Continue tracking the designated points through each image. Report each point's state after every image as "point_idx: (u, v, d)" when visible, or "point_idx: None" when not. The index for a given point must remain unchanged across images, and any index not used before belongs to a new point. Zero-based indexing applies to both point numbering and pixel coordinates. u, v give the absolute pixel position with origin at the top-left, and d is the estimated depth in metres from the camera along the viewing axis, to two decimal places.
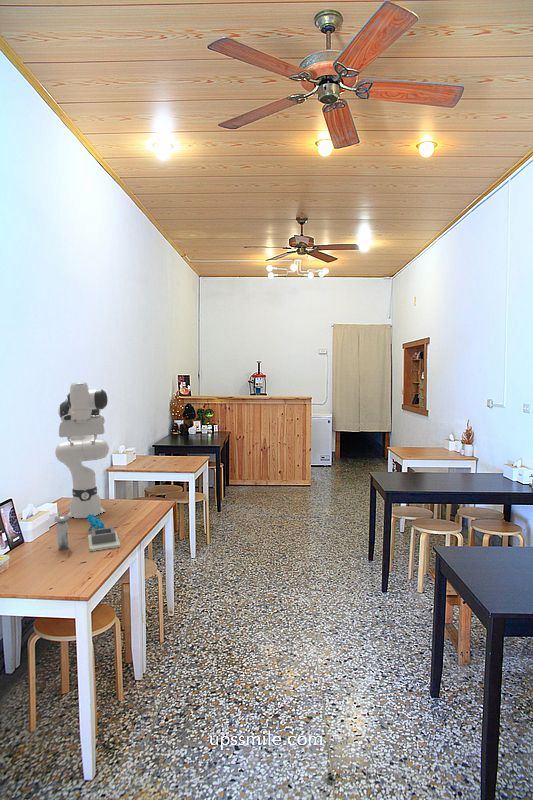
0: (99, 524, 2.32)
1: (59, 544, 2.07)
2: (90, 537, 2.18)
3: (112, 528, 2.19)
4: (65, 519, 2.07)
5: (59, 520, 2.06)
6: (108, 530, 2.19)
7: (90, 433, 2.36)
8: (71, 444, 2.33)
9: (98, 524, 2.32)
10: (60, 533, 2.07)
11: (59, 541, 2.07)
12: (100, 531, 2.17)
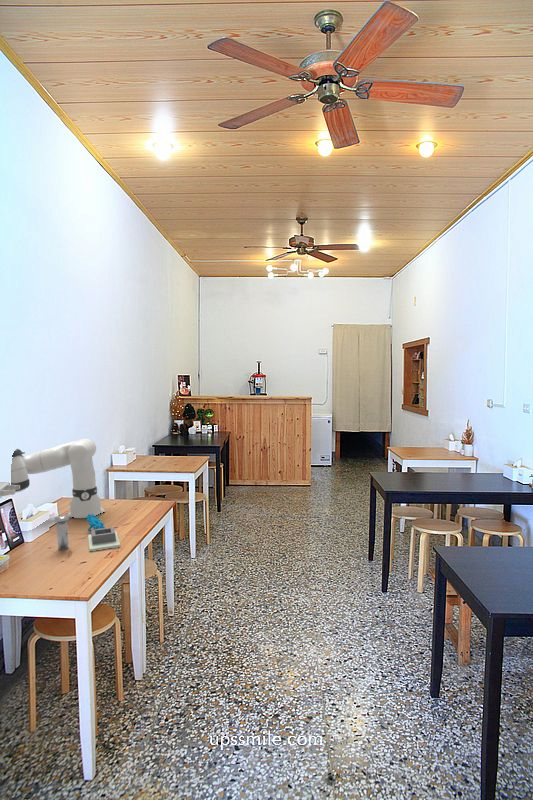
0: (99, 524, 2.32)
1: (59, 544, 2.07)
2: (90, 537, 2.18)
3: (112, 528, 2.19)
4: (65, 519, 2.07)
5: (59, 520, 2.06)
6: (108, 530, 2.19)
7: (4, 484, 2.06)
8: (12, 489, 1.99)
9: (98, 524, 2.32)
10: (60, 533, 2.07)
11: (59, 541, 2.07)
12: (100, 531, 2.17)
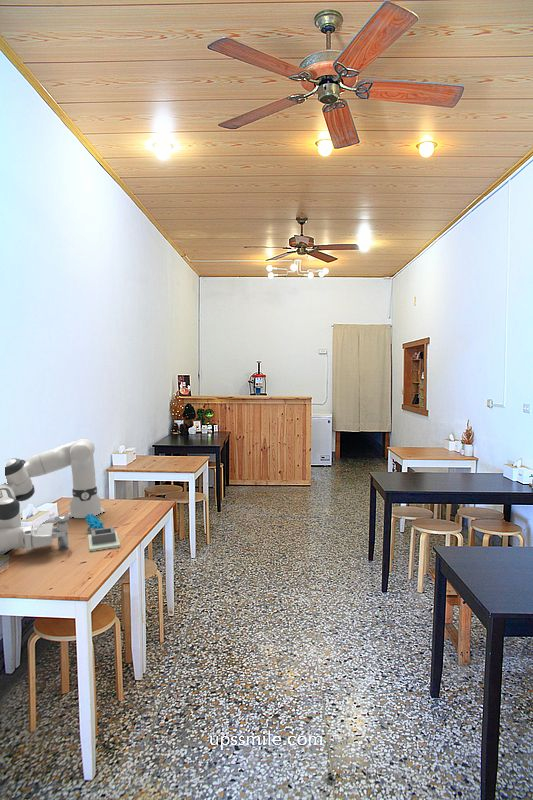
0: (98, 524, 2.32)
1: (59, 544, 2.07)
2: (90, 537, 2.18)
3: (112, 528, 2.19)
4: (65, 519, 2.07)
5: (59, 520, 2.06)
6: (108, 530, 2.19)
7: (51, 526, 2.11)
8: (62, 531, 2.06)
9: (96, 524, 2.32)
10: None
11: (59, 541, 2.07)
12: (100, 531, 2.17)
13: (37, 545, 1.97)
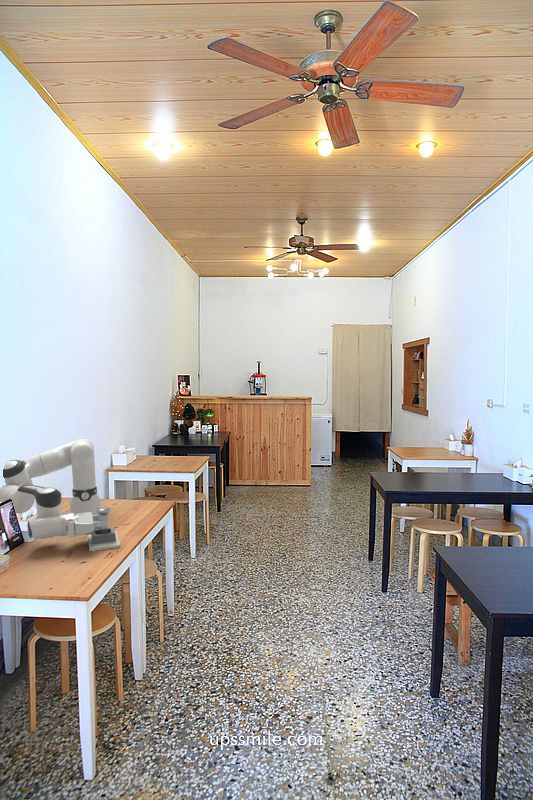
0: None
1: None
2: (90, 537, 2.18)
3: (112, 528, 2.19)
4: (107, 511, 2.13)
5: (101, 512, 2.12)
6: (108, 530, 2.19)
7: (90, 515, 2.16)
8: (102, 520, 2.10)
9: None
10: (101, 525, 2.13)
11: (100, 532, 2.13)
12: None
13: (80, 532, 2.02)
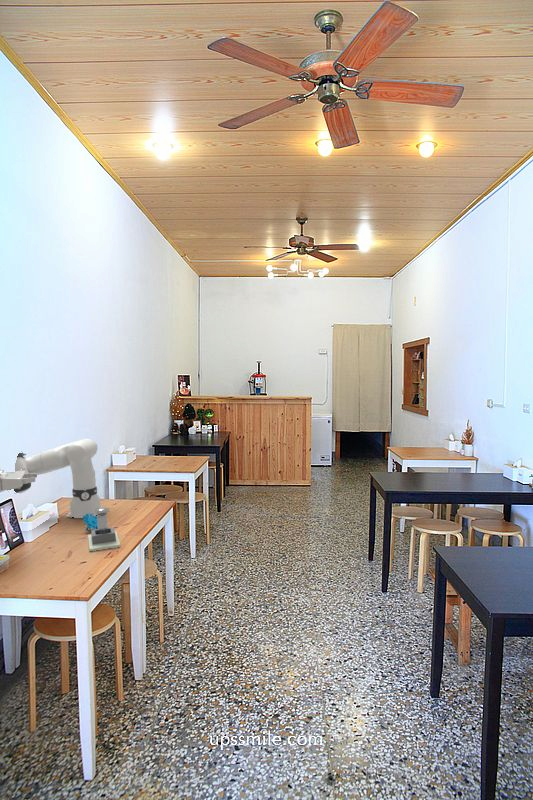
0: (95, 524, 2.33)
1: None
2: (90, 537, 2.18)
3: (112, 528, 2.19)
4: (105, 511, 2.13)
5: (100, 512, 2.11)
6: (108, 530, 2.19)
7: (22, 472, 2.10)
8: (32, 477, 2.04)
9: (94, 524, 2.32)
10: (100, 525, 2.13)
11: (99, 532, 2.13)
12: None
13: (6, 488, 1.97)
